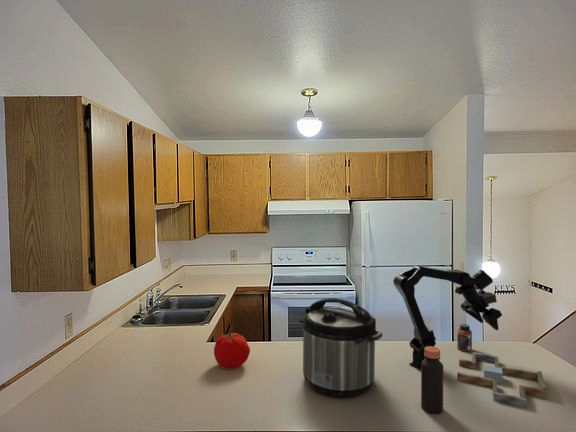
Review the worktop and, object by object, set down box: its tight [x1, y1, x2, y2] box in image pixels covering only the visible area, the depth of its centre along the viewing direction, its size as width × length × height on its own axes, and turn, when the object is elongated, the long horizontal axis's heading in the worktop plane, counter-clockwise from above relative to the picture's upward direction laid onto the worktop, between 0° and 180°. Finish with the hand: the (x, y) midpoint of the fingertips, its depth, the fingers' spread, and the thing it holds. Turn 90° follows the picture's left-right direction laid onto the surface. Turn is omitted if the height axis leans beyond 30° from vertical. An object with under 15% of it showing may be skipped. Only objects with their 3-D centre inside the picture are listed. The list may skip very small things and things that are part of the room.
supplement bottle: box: [456, 323, 473, 352], centre depth 163 cm, size 6×6×11 cm
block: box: [483, 364, 504, 384], centre depth 136 cm, size 6×5×4 cm
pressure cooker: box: [299, 297, 383, 398], centre depth 136 cm, size 30×28×32 cm
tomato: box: [213, 332, 251, 370], centre depth 150 cm, size 16×14×14 cm
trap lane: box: [456, 351, 548, 409], centre depth 135 cm, size 28×34×4 cm
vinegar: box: [420, 346, 444, 415], centre depth 117 cm, size 7×7×20 cm
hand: (489, 326), depth 151 cm, fingers open, 9 cm apart
